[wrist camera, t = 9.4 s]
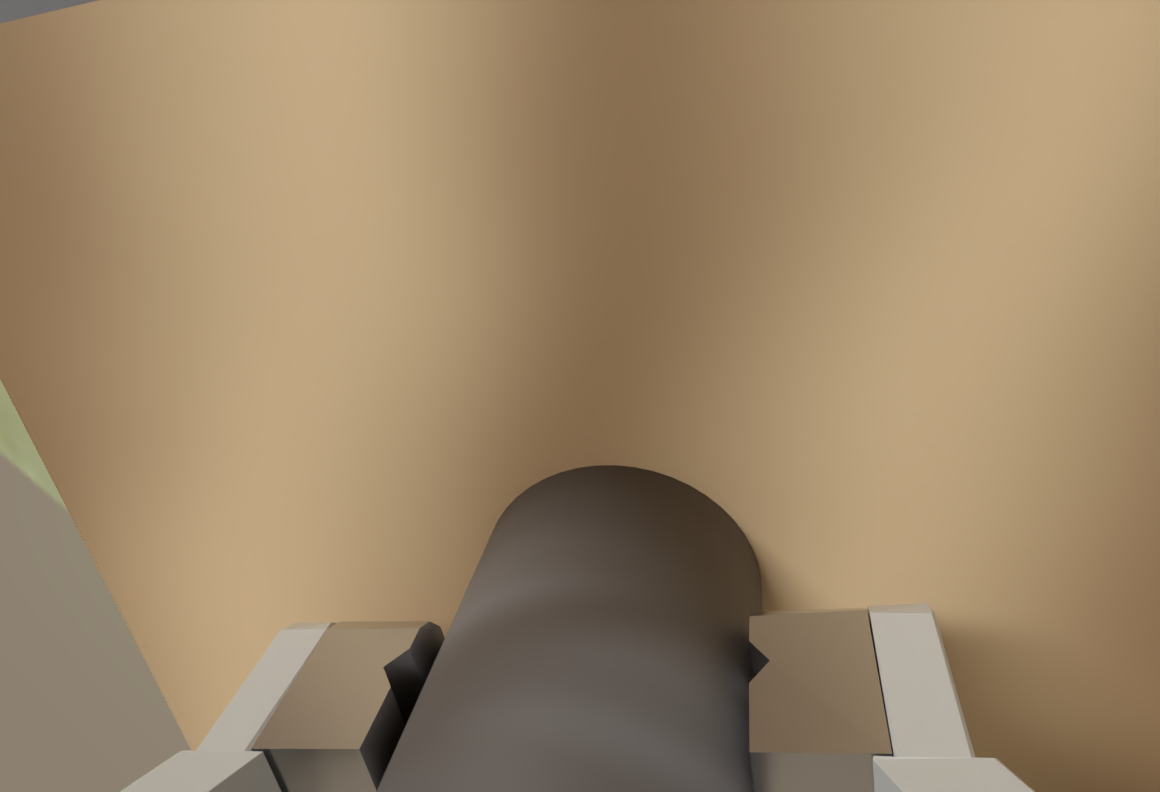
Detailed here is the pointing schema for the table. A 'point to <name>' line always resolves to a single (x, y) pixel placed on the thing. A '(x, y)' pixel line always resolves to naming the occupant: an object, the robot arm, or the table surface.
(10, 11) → the mat
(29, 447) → the table surface
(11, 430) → the table surface
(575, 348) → the lid
